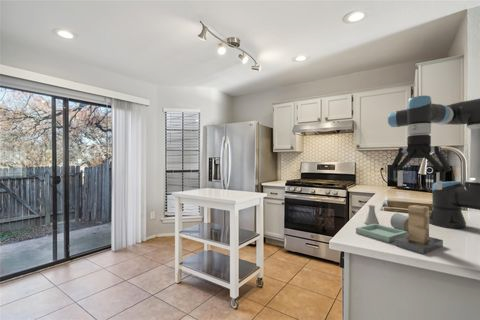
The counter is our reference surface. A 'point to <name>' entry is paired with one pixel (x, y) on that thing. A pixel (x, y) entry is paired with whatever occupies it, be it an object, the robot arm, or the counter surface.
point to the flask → (371, 216)
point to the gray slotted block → (418, 244)
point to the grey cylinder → (400, 222)
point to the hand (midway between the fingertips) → (418, 187)
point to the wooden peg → (418, 223)
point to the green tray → (381, 232)
